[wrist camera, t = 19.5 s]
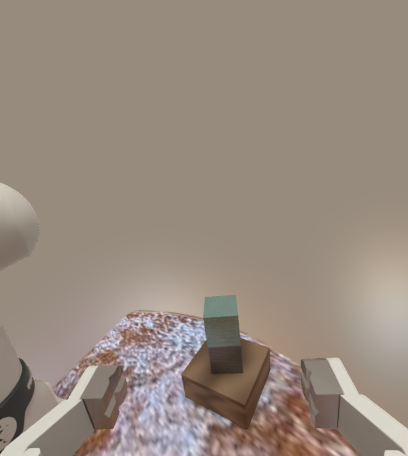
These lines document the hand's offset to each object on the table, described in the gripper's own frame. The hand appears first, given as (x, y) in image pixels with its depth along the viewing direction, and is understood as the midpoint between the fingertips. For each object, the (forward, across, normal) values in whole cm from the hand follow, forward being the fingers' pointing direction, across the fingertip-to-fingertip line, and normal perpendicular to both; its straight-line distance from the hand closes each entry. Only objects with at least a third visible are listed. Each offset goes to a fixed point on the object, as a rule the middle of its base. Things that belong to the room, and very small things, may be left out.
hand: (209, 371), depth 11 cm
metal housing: (+23, +1, +25) cm, 34 cm away
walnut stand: (+23, +1, +30) cm, 38 cm away
